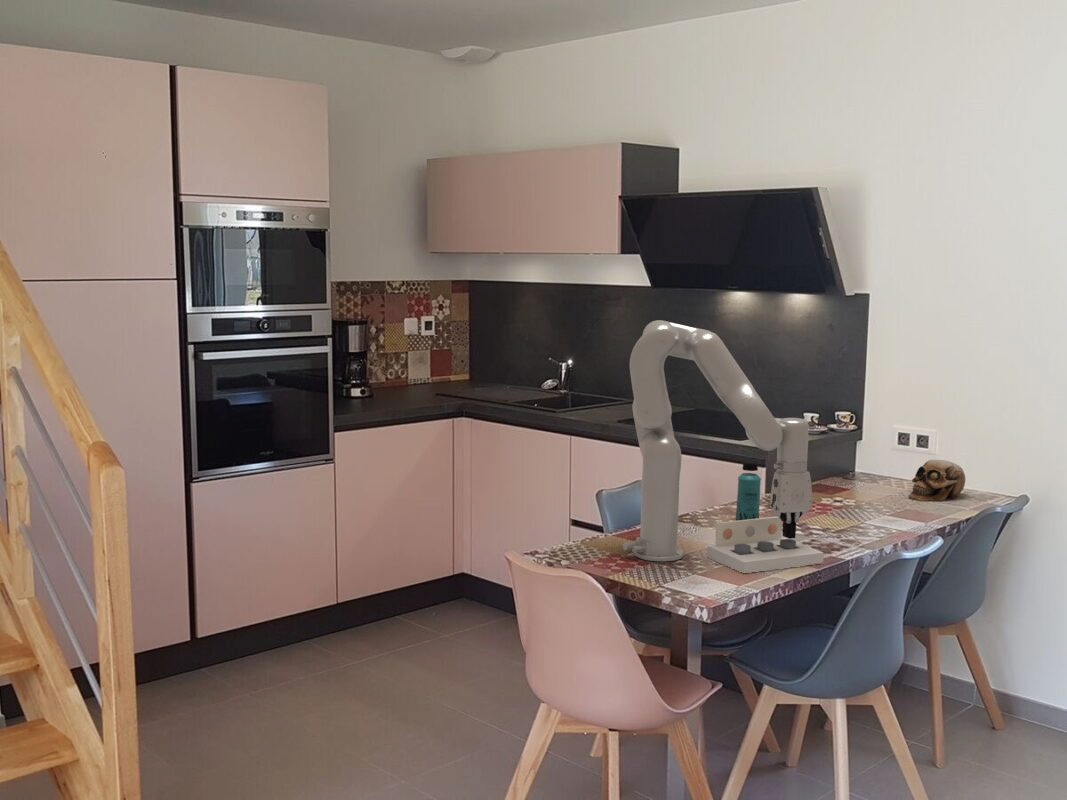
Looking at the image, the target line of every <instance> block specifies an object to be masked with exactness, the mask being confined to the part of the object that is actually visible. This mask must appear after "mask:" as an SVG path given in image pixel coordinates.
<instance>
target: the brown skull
mask: <svg viewBox="0 0 1067 800" xmlns="http://www.w3.org/2000/svg"><path fill="white" fill-rule="evenodd" d="M914 475H915V476H914V478H912V480H911V482H912V483H914V484H913V487H912V491H911V493H910V494H909V495H908V496H907V497H908V499H910V500H913V501H917V502H918V501H919V502H936V501H937V502H944V501H945V500H946V499H955V498H956V497H958V496H959V495H960V494H961V493H962V491H963V490H964V488H965V485H966V474H965V472H964V469H963V468H962V467H961V466H960V465H959V464H957V463H954V462H952V461H949V460H945V459H930V460H927V461H926V462H924V464H923V465H921V466H919V468H918V469H917V471H916V473H915V474H914Z"/></svg>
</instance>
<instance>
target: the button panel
mask: <svg viewBox="0 0 1067 800" xmlns="http://www.w3.org/2000/svg"><path fill="white" fill-rule="evenodd" d="M782 529H783V521H781V519H780V518H779V517H776V516H770V517H769V516H768V517H759V518H758V519H748V520H738V521H736V520H730V521H721V522H720V521H719V522H718V521H717V522H716V523H715V539H714V540H715V543H714V544H713V545H707V555H706V556H707V558H708V559H710V560H713V561H714V562H716V563H719V564H721V565H724V566H725V567H727V566H728V568H729V567H730V568H729V569H732V570H734V569H735V570H734V571H736V570H738V571H739V573H740V572H742V573H750V572H757V571H765V570H773V569H781V568H790V567H797V566H803V565H808V564H814V563H821V562H823V563H824V559H825V557H824V556H825V554H824V551H821V550H818V549H815V548H813V547H810V546H808V545H806V544H805V545H804V544H802V543H800V542H797V541H796V549H788V550H785V549H783V548H780V540H781V539H788V538H786V537H784V536H783V537H782ZM762 541H765V542H771V543H773V544H774V547H773V551H771V552H761V551H759V550H757V544H758V542H762ZM736 544H746V545H749V546H751V552H750V554H746V555H739V554H736V553H734V546H735V545H736ZM790 569H791V568H790ZM738 571H737V572H738ZM742 573H741V574H742ZM750 574H751V573H750Z"/></svg>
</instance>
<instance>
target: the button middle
mask: <svg viewBox="0 0 1067 800" xmlns="http://www.w3.org/2000/svg"><path fill="white" fill-rule="evenodd" d="M773 547H774V544H773V543H771V542H765V541H762V542H758V544H757V550H759V551H761V552H771V551H773Z"/></svg>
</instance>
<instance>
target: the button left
mask: <svg viewBox="0 0 1067 800" xmlns="http://www.w3.org/2000/svg"><path fill="white" fill-rule="evenodd" d="M750 552H751V546H749V545H746V544H736V545H735V546H734V553H736V554H739V555H746V554H750Z"/></svg>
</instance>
